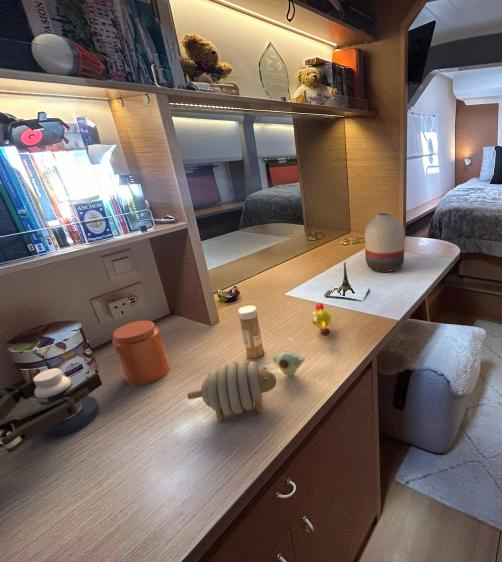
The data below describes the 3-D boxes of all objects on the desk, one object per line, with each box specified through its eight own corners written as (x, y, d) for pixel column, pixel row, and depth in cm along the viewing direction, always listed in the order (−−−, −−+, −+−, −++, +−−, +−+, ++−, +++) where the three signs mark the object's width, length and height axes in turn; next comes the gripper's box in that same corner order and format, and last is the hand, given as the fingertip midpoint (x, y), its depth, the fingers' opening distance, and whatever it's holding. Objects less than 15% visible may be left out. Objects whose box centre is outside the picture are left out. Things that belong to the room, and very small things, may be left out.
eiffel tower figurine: (370, 289, 127) (369, 256, 122) (362, 301, 118) (361, 265, 113) (333, 286, 131) (331, 253, 126) (323, 297, 122) (319, 262, 117)
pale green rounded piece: (308, 372, 83) (305, 349, 80) (301, 383, 79) (298, 359, 76) (278, 368, 84) (274, 345, 82) (270, 379, 81) (266, 355, 78)
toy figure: (310, 318, 108) (308, 299, 105) (328, 316, 109) (326, 297, 106) (316, 349, 92) (314, 327, 89) (336, 346, 93) (334, 324, 90)
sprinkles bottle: (265, 355, 89) (257, 310, 84) (247, 360, 88) (238, 314, 82) (262, 347, 93) (255, 303, 88) (245, 351, 91) (236, 307, 86)
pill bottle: (42, 427, 66) (21, 386, 62) (54, 408, 70) (35, 370, 67) (77, 418, 68) (58, 379, 64) (86, 401, 72) (69, 363, 68)
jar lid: (108, 413, 71) (105, 406, 71) (51, 445, 64) (47, 438, 63) (89, 397, 76) (86, 390, 75) (33, 425, 69) (29, 418, 68)
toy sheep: (282, 415, 70) (275, 370, 66) (192, 441, 64) (177, 395, 60) (276, 383, 79) (269, 343, 75) (196, 404, 73) (184, 362, 69)
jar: (117, 383, 80) (99, 337, 76) (148, 360, 89) (133, 317, 84) (150, 387, 79) (134, 341, 74) (178, 363, 87) (165, 320, 82)
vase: (395, 276, 139) (395, 219, 130) (358, 271, 146) (356, 216, 136) (409, 264, 153) (410, 211, 144) (375, 259, 160) (374, 208, 150)
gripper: (-109, 474, 54) (41, 384, 74) (0, 500, 50) (128, 396, 70) (-137, 440, 51) (27, 355, 71) (-24, 464, 47) (117, 366, 67)
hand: (77, 375), depth 71 cm, fingers open, 10 cm apart
